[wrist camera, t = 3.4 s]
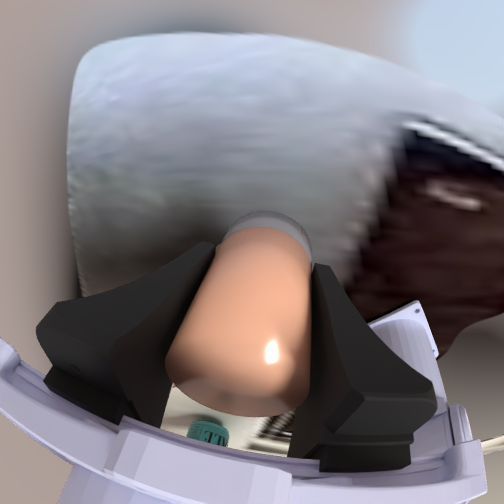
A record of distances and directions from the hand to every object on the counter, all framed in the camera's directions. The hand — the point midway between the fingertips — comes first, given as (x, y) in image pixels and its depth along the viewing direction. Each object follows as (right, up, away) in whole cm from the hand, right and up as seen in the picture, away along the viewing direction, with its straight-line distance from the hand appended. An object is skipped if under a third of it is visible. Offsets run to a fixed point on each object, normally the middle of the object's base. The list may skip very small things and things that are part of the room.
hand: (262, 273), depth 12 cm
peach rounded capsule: (0, +1, +1) cm, 2 cm away
